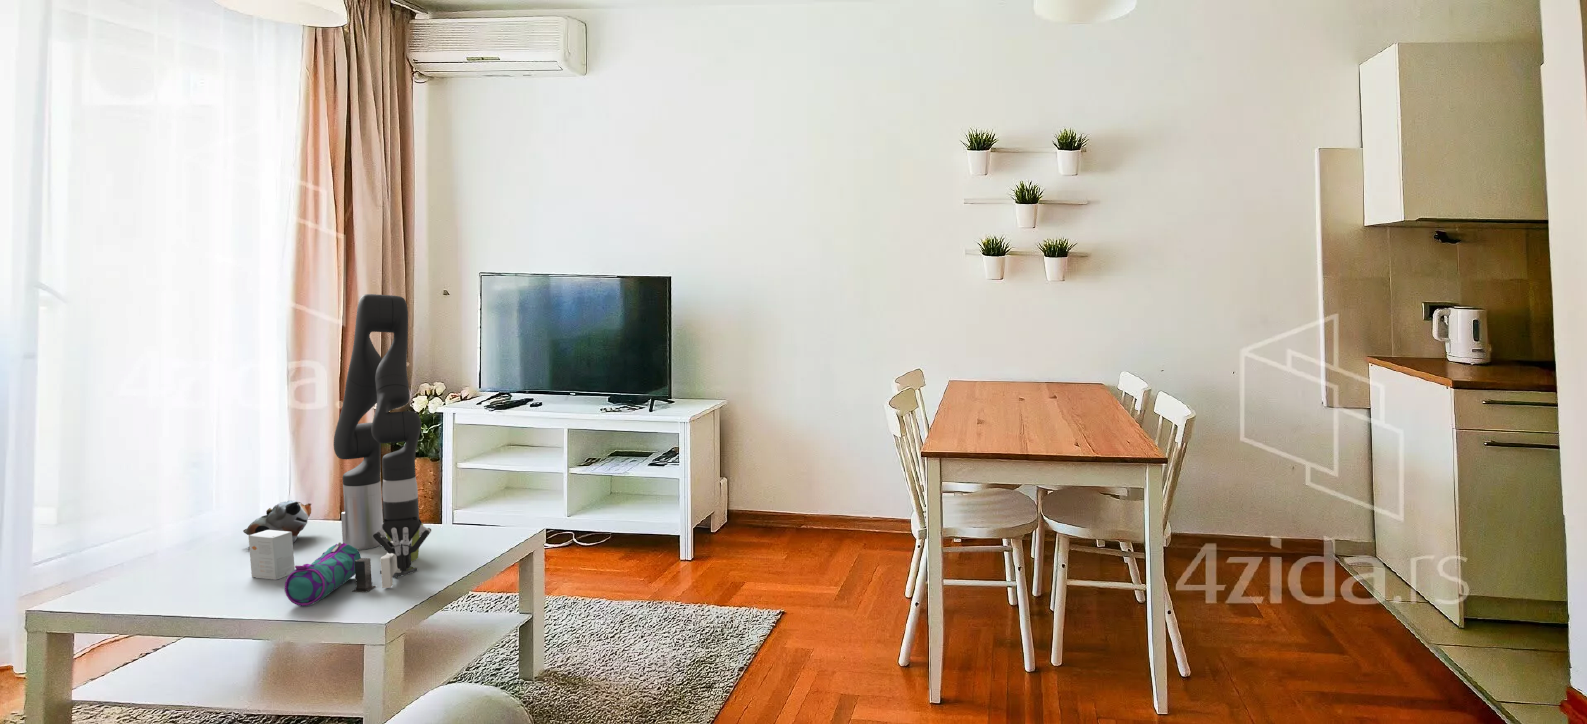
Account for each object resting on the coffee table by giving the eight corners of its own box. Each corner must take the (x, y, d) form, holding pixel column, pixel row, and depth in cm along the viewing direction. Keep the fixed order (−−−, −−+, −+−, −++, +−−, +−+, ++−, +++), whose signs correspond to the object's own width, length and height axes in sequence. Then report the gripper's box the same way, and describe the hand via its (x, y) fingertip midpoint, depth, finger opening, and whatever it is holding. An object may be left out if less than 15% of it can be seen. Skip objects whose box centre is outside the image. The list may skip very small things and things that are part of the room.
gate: (391, 573, 218) (390, 541, 217) (401, 573, 218) (399, 540, 218) (381, 588, 207) (379, 554, 207) (391, 587, 208) (389, 553, 207)
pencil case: (324, 579, 217) (322, 540, 216) (362, 577, 217) (360, 538, 217) (283, 609, 196) (280, 566, 195) (325, 608, 197) (323, 565, 196)
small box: (295, 573, 221) (293, 531, 220) (275, 580, 216) (273, 537, 215) (270, 570, 224) (268, 528, 223) (250, 577, 218) (248, 534, 217)
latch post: (352, 591, 207) (350, 561, 206) (361, 586, 210) (359, 557, 210) (367, 592, 206) (365, 562, 206) (375, 586, 210) (374, 557, 209)
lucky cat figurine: (272, 533, 257) (297, 489, 259) (304, 553, 254) (329, 508, 256) (232, 532, 243) (258, 485, 244) (266, 553, 240) (292, 505, 241)
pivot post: (380, 574, 219) (377, 530, 219) (402, 567, 225) (399, 524, 224) (395, 577, 216) (393, 533, 215) (417, 570, 222) (415, 527, 221)
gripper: (434, 492, 214) (437, 563, 216) (375, 494, 212) (379, 566, 214) (426, 499, 207) (430, 573, 208) (365, 502, 205) (369, 576, 206)
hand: (404, 569), depth 211 cm, fingers closed
